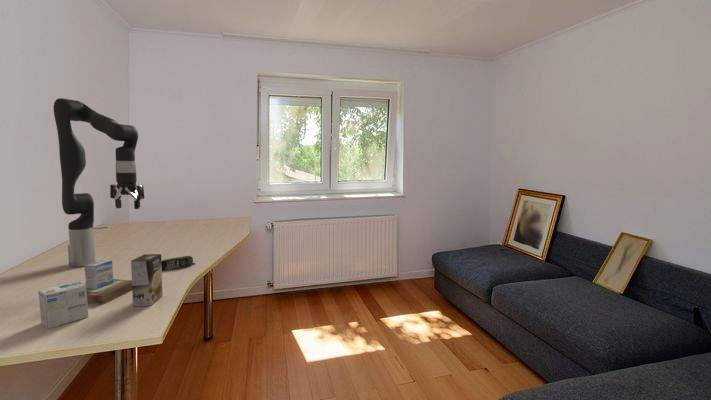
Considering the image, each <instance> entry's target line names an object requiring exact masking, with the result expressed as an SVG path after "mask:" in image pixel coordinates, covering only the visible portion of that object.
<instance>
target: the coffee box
mask: <svg viewBox="0 0 711 400" xmlns="http://www.w3.org/2000/svg"><path fill="white" fill-rule="evenodd" d="M130 262H131V263H130V264H131V265H130V267H131V280H132V290H131V291H132V293H131V294H132V306H133V307H142V306H143V307H151V306H153V305H154V304H155V303H157V301H159V300H160V299H161V298H163V296H164V294H163V272H162V254H159V253H153V254H152V253H150V254H141V255H140V256H138V257H136V258H134V259H132V260H130Z"/></svg>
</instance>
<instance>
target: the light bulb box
mask: <svg viewBox="0 0 711 400" xmlns="http://www.w3.org/2000/svg"><path fill="white" fill-rule="evenodd" d="M37 291H38V300H39V302H38V303H39V311H40V320H41V321H40V322H41V325H43V326H44V327H45V328H46V329H48V330H49V329H51V328H54V327H58V326H61V325H65V324H66V325H67V324H69V323H73V322H75V321H78V320H83V319H85V318H88V317H89V307H88V306H89V305H88V303H87V291H86V285H85V283H83V282H80V281H79V280H77V281H74V282H69V283H64V284H59V285H55V286H52V287H46V288H43V289H38V290H37Z"/></svg>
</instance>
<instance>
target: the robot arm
mask: <svg viewBox="0 0 711 400" xmlns="http://www.w3.org/2000/svg"><path fill="white" fill-rule="evenodd" d="M53 116H54V120H55V126H56V130H57V137H58V148H59V149H58V150H59V153H58V154H59V163H60V173H61V206H62V207H61V208H62V210H63V212H64V213H65V214H66V215H79V217H77V218H76V219H74V220H72V221H70V222H69V223H68V225H67V226H68V239H69V242H68V243H69V244H68V245H67V253H68V254H67V255H68V266H71V267H73V266H74V268H77V267H78V268H79V267H80V268H81V267H85V266H86V265H89V264H92V263H95V262H96V250H95V249H96V248H95V234H94V231H95V230H94V222H95V202H94V201H95V200H94V198H93V196H92V195H91V194H90V193H88V192H87V193H86V192H85V193H83V192H81V193H75V187H76V183H77V182H78V180H79V178H80V176H81V175H82V173H83V171H84V170H85V167H86V166H87V162H86V151H85V148H84V146H83V145H82V142H80V141H79V139H78V138H77V136H76V135H75V134H74V131H73V129H72V124H71V123H72V122H71V121H73V122H84V123H88V124H90V126H91V127H92V128H93V129H94V130H97V132H101V133H103V134H106V136H108V137H109V138H110V139H111V140H114V141H117V142H123V145H122V146H118V147H115V182H116V183H117V184H115V183H114V184H110V187H109V188H110V189H109V198H110V199H113V200H114V203H115V208H116V209H121V208H122V197H123V196H130V197H131V198H132V199H133V204H134V205H133V207H134V210H138V209H140V208H141V200H144V199H145V190H144V185H141V184H139V185H137V182H138V180H137V164H136V154H135V152H136V151H135V150H136V148H137V144H138V140H139V132H138V131H139V130H138V129H137V128H136V127H135V126H134V125H129V124H121V123H119V122H118V121H116V120H115V119H113V118H110V117H108V116H106V115H104V114H101V113H100V112H97V111H96V110H94V109H92V108H91V107H90V106H88V105H87V104H85V103H83V102H81V101H79V100H76V99H75V100H74V99H69V98H63V97H61V98H56V100H54V102H53Z"/></svg>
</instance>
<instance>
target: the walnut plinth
mask: <svg viewBox="0 0 711 400" xmlns="http://www.w3.org/2000/svg"><path fill="white" fill-rule="evenodd" d="M84 284H85V285H86V282H85V283H84ZM86 291H87V304H95V305H96V304H98V305H105V304H107V303H109V302H111V301H113V300H115V299H117V298H119V297H122V296H124V295H125V294H127V293H129V292H131V291H132V279H130V280H129V279H120V278H119V279H117V278H116V279H115V278H113V283H110V284H108V285H106V286H103V287H101V288H99V289H88V288H86Z"/></svg>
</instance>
